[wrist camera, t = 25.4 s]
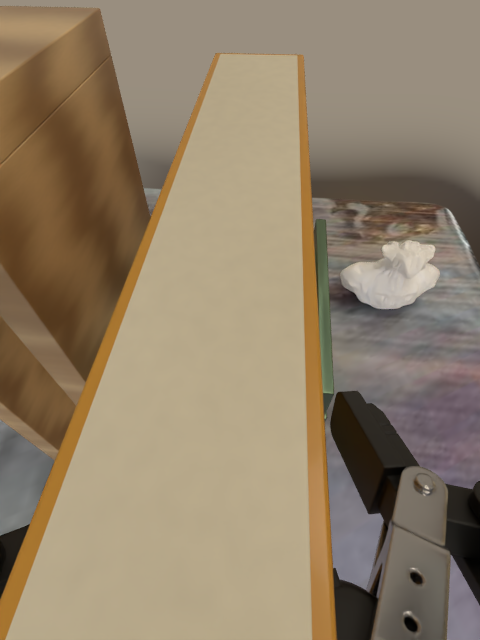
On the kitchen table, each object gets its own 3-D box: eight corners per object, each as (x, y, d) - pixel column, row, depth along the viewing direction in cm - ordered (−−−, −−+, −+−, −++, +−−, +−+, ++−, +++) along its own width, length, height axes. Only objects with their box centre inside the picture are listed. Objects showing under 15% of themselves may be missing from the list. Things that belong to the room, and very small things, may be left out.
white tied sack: (332, 309, 49) (358, 305, 38) (332, 254, 49) (358, 233, 38) (421, 310, 49) (473, 306, 38) (421, 254, 49) (473, 234, 38)
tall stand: (162, 490, 33) (-87, 141, 8) (79, 479, 34) (-390, 125, 9) (188, 376, 41) (100, 7, 16) (120, 369, 41) (-73, 4, 16)
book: (272, 667, 12) (352, 844, 3) (153, 652, 12) (-79, 777, 3) (282, 246, 25) (304, 52, 16) (224, 243, 25) (214, 50, 16)
